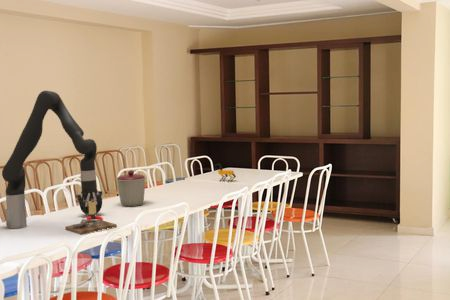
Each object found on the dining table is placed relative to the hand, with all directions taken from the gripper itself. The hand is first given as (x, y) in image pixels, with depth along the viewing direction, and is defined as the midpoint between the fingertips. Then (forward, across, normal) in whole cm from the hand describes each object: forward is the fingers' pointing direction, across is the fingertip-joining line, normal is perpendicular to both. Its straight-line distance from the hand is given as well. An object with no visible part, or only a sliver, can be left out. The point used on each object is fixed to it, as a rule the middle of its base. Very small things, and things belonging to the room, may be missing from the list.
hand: (90, 212), depth 300 cm
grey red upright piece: (+8, -11, -16) cm, 21 cm away
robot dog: (+9, -143, -59) cm, 155 cm away
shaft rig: (+8, 0, 0) cm, 8 cm away
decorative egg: (+8, -16, -28) cm, 33 cm away
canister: (+8, -48, -36) cm, 60 cm away
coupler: (0, 0, 0) cm, 0 cm away
